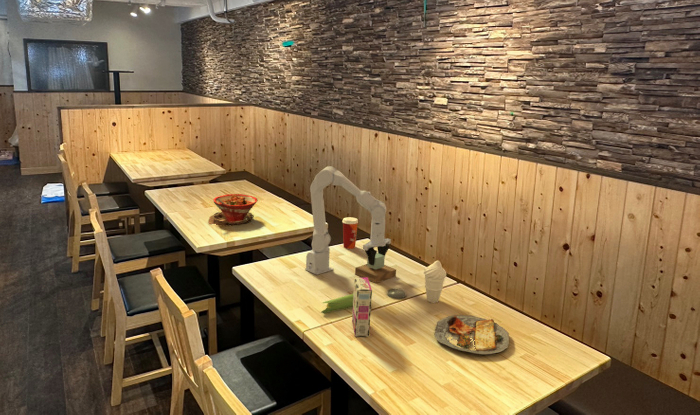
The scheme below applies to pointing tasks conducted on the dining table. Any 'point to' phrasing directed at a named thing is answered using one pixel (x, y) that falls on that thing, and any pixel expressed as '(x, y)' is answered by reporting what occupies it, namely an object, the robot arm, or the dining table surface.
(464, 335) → the food plate
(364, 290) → the candy bar box
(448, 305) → the dining table surface
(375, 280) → the base block
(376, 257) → the cube
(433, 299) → the soft serve ice cream cone
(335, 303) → the edible corn
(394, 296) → the grey flat round pebble
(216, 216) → the stew
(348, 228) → the paper cup
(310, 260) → the robot arm
